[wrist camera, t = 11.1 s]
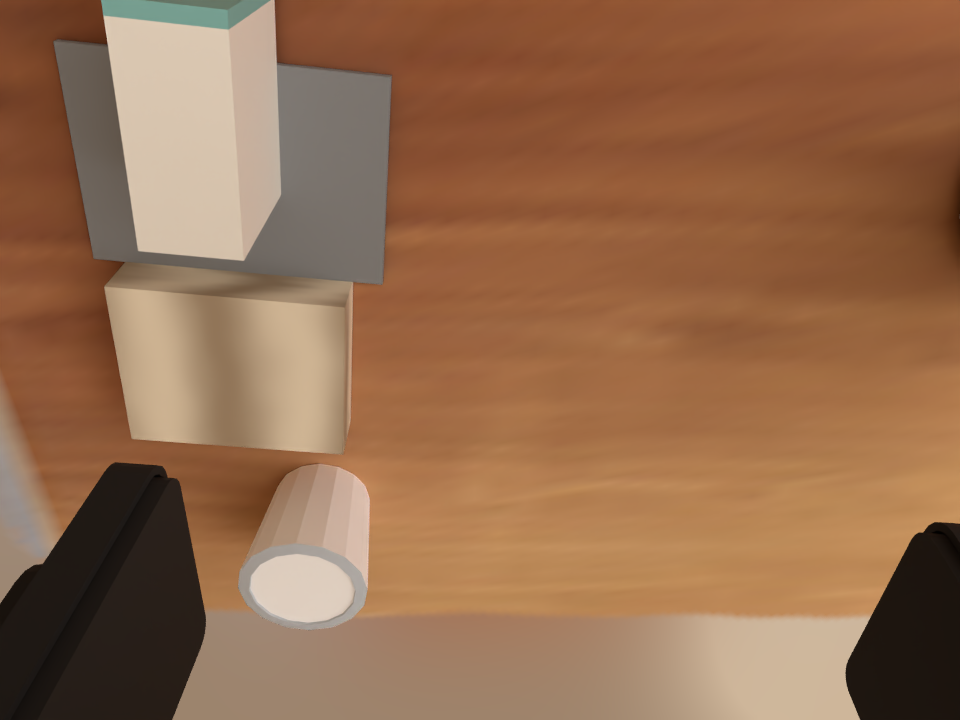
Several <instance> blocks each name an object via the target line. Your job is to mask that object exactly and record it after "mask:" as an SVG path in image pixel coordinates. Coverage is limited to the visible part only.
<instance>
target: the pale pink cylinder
mask: <svg viewBox="0 0 960 720" xmlns="http://www.w3.org/2000/svg"><path fill="white" fill-rule="evenodd" d="M369 513H370V498H369V495H368V492H367V490H366V487H365V485H364V484H363V483H362V482H361V481H360V480H359V479H358V478H357V477H356V476H355V475H354V474H352V473H350V472H348V471H346V470H344V469H342V468H340V467H337V466H331V465H325V464H313V465H306V466H301V467H299V468H297V469H295V470H293V471H291V472H289V473H288V474H286V476H285V477H284V478H283V480H282V481H281V482H280V484H279V485H278V487H277V489H276V492H275V494H274V496H273V498H272V501H271V503H270V505H269V507H268V509H267V512H266V514H265V516H264V518H263V521H262V523H261V525H260V527H259V529H258V532H257V534H256V536H255V538H254V540H253V543H252V545H251V547H250V549H249V552H248V554H247V556H246V558H245V560H244V563H243V565H242V567H241V569H240V572H239V585H238V589H239V591H240V593H241V595H242V597H243V599H244V601H245V602H246V604H247V605H248V606H249V607H250V608H251V609H252V610H254V611H255V612H256V613H257V614H259V615H260V616H261V617H262V618H264V619H266V620H269V621H271V622H274V623H276V624H279V625H281V626H284V627H289V628H296V629H304V630H315V629H323V628H331V627H335V626H337V625H339V624H341V623H343V622H345V621H348V620H350V619H352V618H353V617H354V616H355V615H356V614H357V613H358V611H359V610H360V609H361V608H362V607H363V606H364V604H365V599H366V594H367V589H368V552H369Z"/></svg>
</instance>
